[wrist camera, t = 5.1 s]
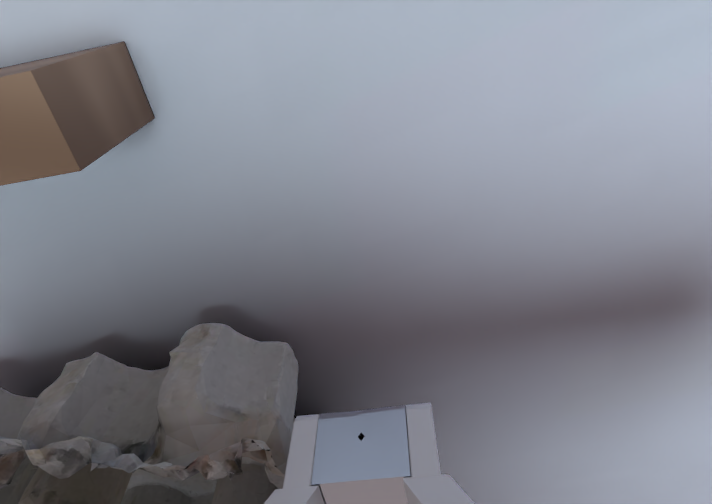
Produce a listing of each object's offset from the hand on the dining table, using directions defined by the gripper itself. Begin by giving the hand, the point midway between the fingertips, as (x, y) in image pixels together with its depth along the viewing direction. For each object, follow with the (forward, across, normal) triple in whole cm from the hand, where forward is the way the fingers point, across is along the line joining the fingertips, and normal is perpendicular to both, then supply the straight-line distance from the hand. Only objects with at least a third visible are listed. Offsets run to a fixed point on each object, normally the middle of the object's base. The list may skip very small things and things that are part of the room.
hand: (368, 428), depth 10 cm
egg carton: (+4, +8, 0) cm, 9 cm away
